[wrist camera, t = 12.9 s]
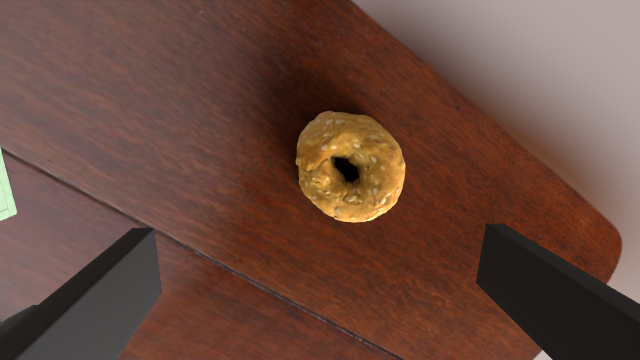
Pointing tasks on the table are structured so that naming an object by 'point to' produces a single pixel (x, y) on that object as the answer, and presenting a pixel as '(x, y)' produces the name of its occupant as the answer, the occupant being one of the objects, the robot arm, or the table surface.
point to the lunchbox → (5, 193)
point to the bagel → (362, 151)
